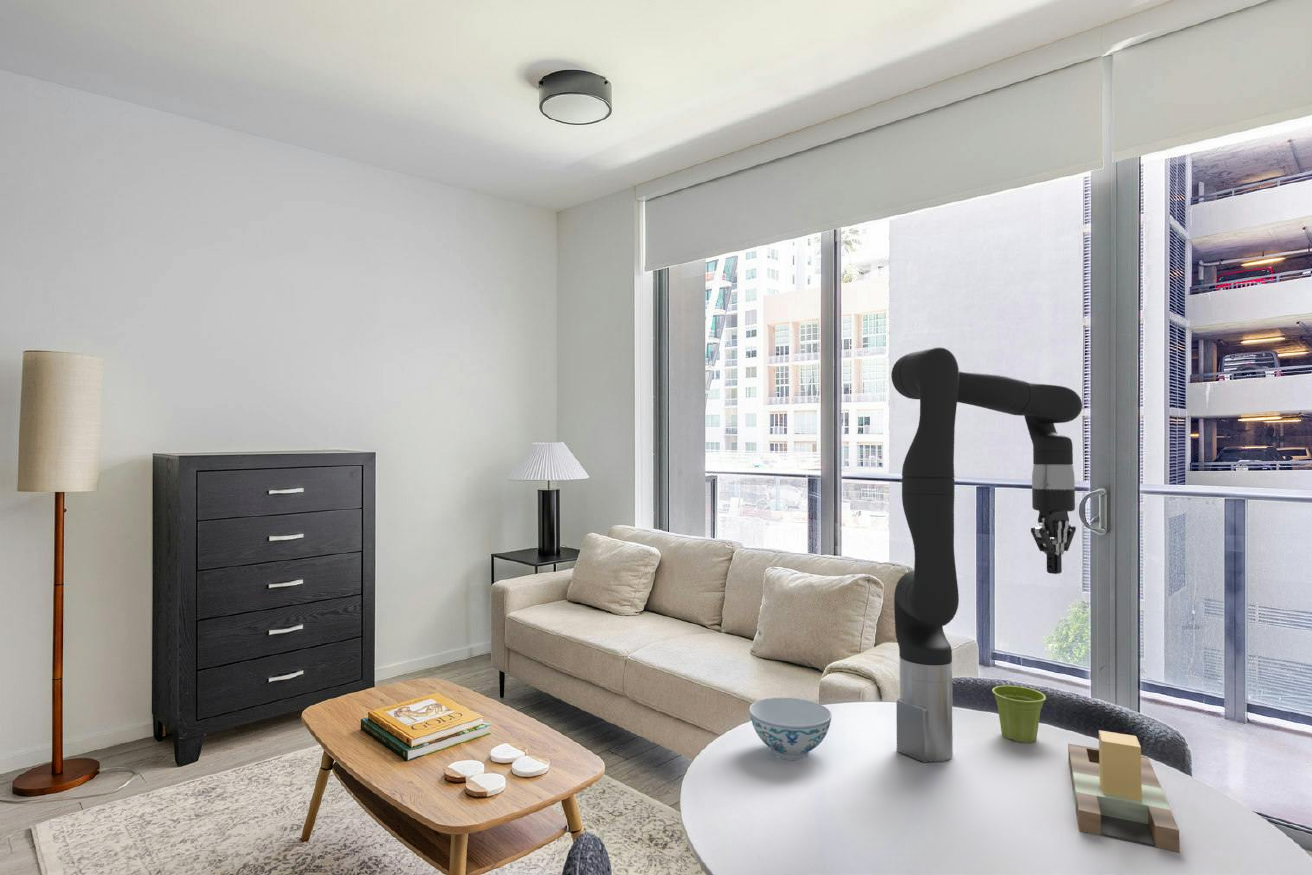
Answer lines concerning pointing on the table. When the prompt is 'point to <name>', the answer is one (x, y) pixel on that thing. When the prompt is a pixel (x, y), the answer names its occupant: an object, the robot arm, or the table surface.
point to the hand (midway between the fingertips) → (1054, 573)
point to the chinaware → (790, 725)
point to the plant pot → (1019, 712)
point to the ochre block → (1120, 765)
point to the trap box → (1120, 804)
